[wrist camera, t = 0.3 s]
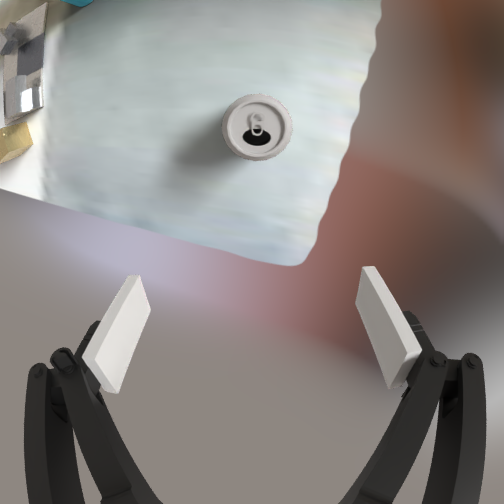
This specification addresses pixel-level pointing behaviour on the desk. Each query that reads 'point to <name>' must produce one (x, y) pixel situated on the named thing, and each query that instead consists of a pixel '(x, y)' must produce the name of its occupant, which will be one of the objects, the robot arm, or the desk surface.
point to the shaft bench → (23, 64)
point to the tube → (78, 2)
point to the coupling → (14, 141)
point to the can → (257, 127)
